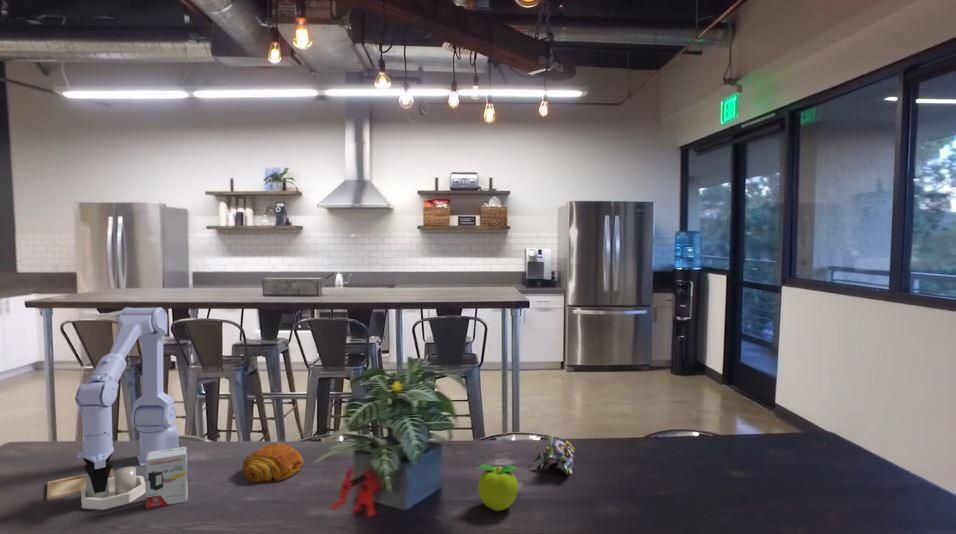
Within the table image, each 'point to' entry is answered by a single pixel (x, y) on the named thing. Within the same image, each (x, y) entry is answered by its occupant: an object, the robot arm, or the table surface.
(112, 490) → the white octagonal dish
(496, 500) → the fruit
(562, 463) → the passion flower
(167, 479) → the ink box
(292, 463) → the croissant
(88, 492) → the stone
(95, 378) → the robot arm
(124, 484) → the grey rounded cylinder
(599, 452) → the table surface
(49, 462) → the table surface
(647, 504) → the table surface
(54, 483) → the oak tray
